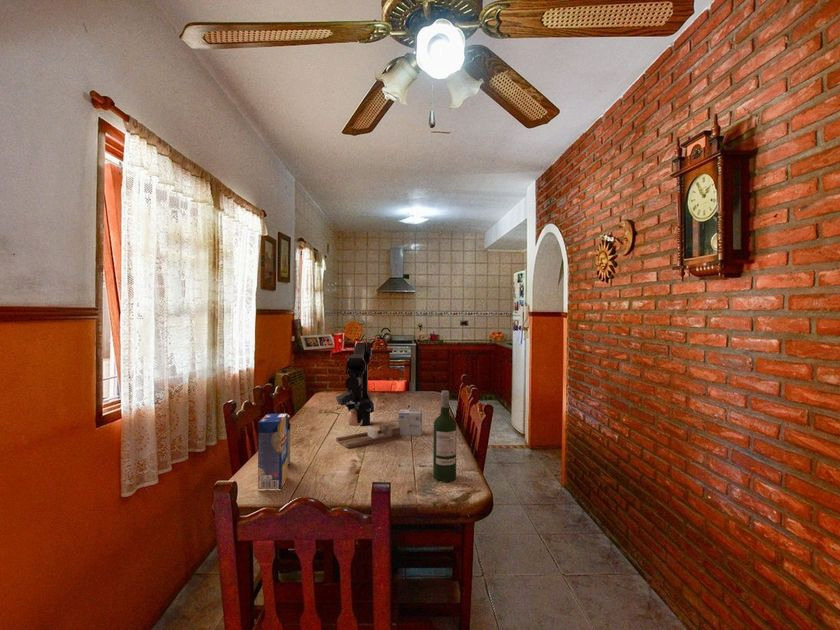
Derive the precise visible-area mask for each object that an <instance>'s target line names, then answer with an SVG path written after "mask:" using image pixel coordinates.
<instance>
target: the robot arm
mask: <svg viewBox="0 0 840 630" xmlns="http://www.w3.org/2000/svg"><path fill="white" fill-rule="evenodd" d="M353 348H354V349H353V354H351V355H349V356H348V359H346V363H345V371H344V372H345V373H344V374H345V375H348V377H347V378H346V379H345V382H344V384H345V388H346V392H342V393H341V394H339V395H337V396H336V397H335V399H336V402H337V404H338V405H340V406H344V407H346V409H347V410H348V412H349V411H350V410H351V409H354V410H355V411H356V414H357V422H358V423H360V422H361V420H362V425H359V426H361V427H363V426H371V425H373V422H371V414H372V413H374V412H375V406H374V403H373V400H372V395H371V394H370V392H369V371H368V369H369V368H368V367H369V362H370V361H371V359H372V357H373V349H372V346H370V345H368V344H367V342H356V343H355V346H354V347H353Z"/></svg>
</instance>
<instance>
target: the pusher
mask: <svg viewBox="0 0 840 630" xmlns="http://www.w3.org/2000/svg"><path fill="white" fill-rule="evenodd" d="M378 430H379V429H376V428H373V427H371V426H367V432H368V436H370V437H372V438H377V437H378Z"/></svg>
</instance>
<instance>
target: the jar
mask: <svg viewBox="0 0 840 630" xmlns="http://www.w3.org/2000/svg"><path fill="white" fill-rule="evenodd" d="M347 422H348V425H349V426H351V427H354V426H355V427H359V426H360V425H362V420H361V422H360V423H358V422H357V414H356V411H355V410H354V409H351V410H350V411H348V421H347Z"/></svg>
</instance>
